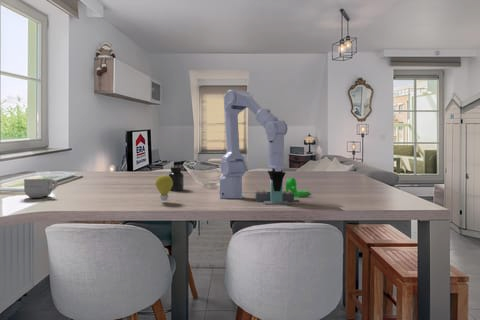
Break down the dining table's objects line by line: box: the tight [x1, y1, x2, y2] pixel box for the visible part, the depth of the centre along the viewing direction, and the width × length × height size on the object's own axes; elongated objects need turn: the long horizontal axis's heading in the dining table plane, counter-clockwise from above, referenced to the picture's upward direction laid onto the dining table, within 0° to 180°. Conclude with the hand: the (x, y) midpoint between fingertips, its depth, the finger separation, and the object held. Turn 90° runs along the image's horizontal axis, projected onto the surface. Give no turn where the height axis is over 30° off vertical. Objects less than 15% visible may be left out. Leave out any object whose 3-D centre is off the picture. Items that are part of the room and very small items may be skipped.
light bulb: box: [155, 174, 173, 202], centre depth 154 cm, size 7×7×10 cm
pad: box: [263, 201, 291, 206], centre depth 145 cm, size 9×8×1 cm
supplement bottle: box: [168, 166, 185, 192], centre depth 184 cm, size 7×7×12 cm
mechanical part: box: [285, 177, 310, 198], centre depth 170 cm, size 12×6×8 cm, turn 144°
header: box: [254, 189, 295, 203], centre depth 154 cm, size 14×8×4 cm, turn 90°
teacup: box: [23, 178, 58, 198], centre depth 165 cm, size 14×11×8 cm
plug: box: [269, 179, 284, 203], centre depth 145 cm, size 4×4×8 cm
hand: (276, 190), depth 145 cm, fingers open, 7 cm apart
